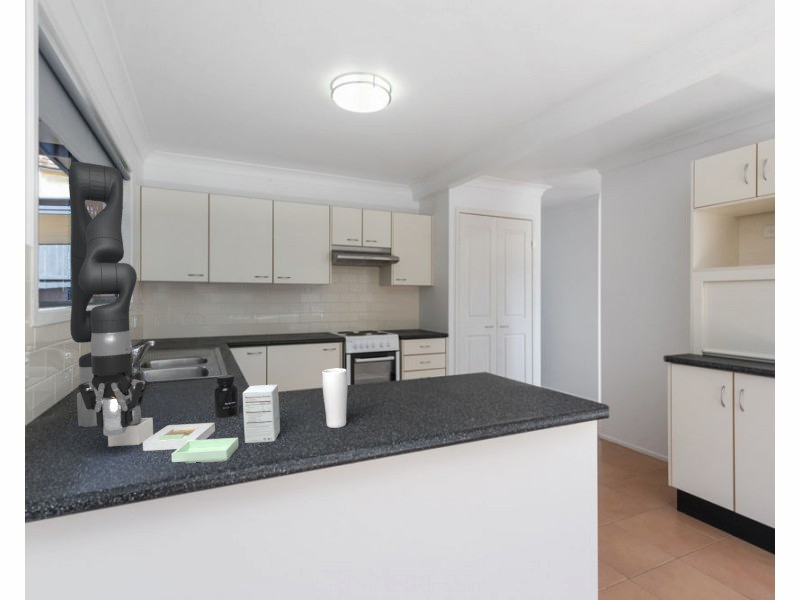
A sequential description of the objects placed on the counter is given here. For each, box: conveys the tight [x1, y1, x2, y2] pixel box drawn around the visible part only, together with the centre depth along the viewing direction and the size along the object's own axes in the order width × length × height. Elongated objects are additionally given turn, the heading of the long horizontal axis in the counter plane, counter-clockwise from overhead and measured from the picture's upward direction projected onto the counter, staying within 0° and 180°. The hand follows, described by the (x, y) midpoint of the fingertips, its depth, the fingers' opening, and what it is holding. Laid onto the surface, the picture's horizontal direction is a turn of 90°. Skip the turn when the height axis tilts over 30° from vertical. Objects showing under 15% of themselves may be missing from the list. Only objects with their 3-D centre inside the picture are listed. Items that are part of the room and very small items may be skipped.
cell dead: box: [129, 405, 142, 426], centre depth 104 cm, size 4×4×9 cm
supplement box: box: [242, 384, 281, 444], centre depth 104 cm, size 7×7×13 cm
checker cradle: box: [142, 422, 216, 452], centre depth 103 cm, size 12×12×3 cm
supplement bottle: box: [213, 374, 240, 419], centre depth 124 cm, size 7×7×12 cm
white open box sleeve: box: [107, 417, 154, 447], centre depth 104 cm, size 7×7×5 cm
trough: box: [171, 437, 240, 464], centre depth 94 cm, size 12×8×2 cm
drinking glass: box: [321, 367, 349, 429], centre depth 112 cm, size 7×7×15 cm
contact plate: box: [169, 430, 195, 436], centre depth 103 cm, size 6×6×1 cm
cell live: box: [102, 395, 127, 437], centre depth 93 cm, size 4×4×9 cm
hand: (115, 426), depth 94 cm, fingers closed on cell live, 4 cm apart
